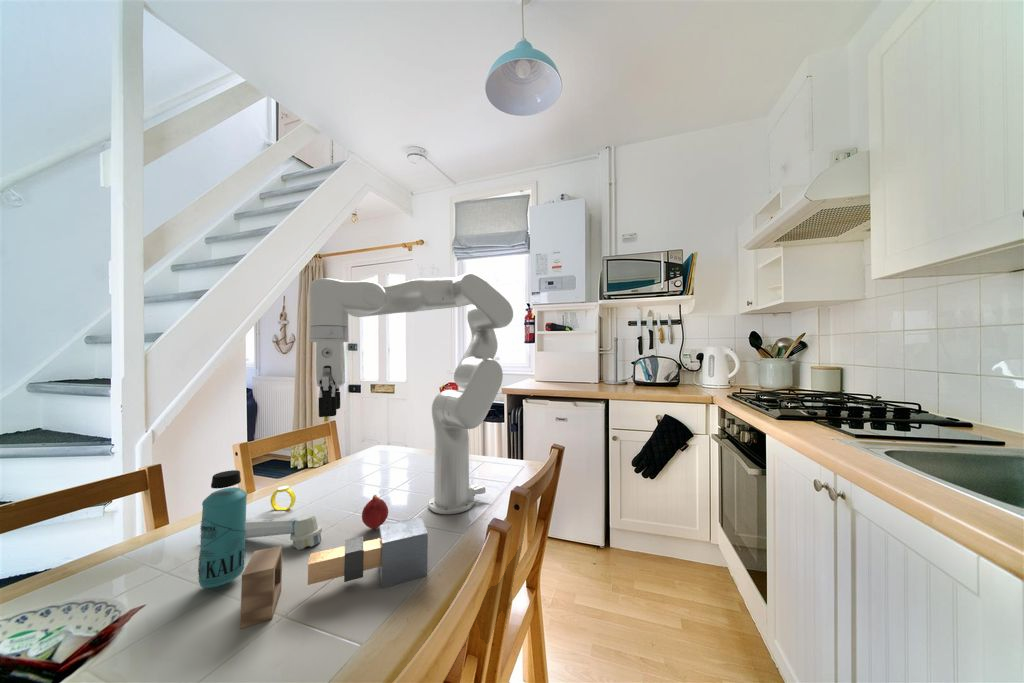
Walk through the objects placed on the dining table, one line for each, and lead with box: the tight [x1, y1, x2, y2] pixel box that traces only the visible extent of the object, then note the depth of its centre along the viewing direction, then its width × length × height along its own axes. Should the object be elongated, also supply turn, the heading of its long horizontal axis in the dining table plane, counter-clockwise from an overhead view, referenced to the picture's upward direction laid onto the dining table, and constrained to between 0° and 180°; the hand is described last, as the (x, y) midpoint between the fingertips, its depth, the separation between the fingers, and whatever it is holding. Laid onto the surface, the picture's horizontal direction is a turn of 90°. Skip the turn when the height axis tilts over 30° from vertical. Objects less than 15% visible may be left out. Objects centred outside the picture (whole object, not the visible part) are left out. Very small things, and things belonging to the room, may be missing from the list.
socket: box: [239, 544, 283, 629], centre depth 54 cm, size 4×7×8 cm, turn 25°
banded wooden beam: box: [307, 535, 382, 586], centre depth 61 cm, size 19×5×5 cm, turn 115°
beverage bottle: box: [197, 469, 248, 589], centre depth 60 cm, size 6×7×20 cm
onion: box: [361, 494, 389, 530], centre depth 79 cm, size 6×6×8 cm
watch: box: [270, 485, 296, 511], centre depth 90 cm, size 6×3×6 cm, turn 89°
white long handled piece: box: [245, 513, 323, 551], centre depth 74 cm, size 5×7×25 cm
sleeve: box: [378, 516, 429, 589], centre depth 64 cm, size 8×7×8 cm
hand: (330, 412), depth 73 cm, fingers open, 9 cm apart
